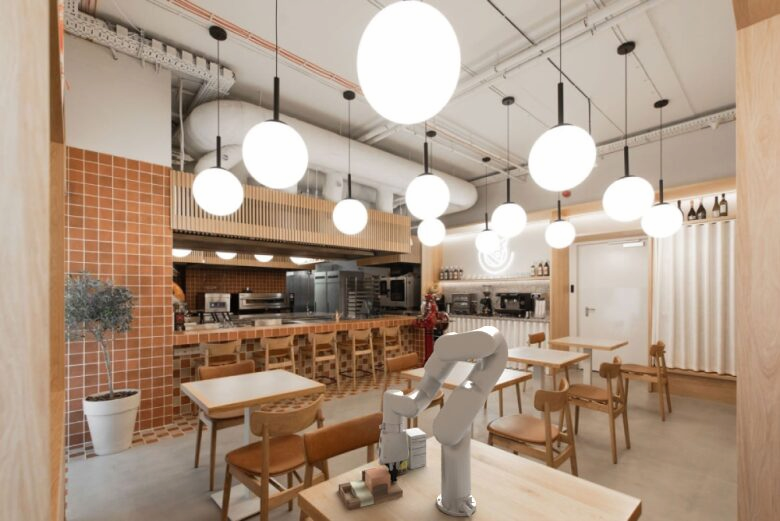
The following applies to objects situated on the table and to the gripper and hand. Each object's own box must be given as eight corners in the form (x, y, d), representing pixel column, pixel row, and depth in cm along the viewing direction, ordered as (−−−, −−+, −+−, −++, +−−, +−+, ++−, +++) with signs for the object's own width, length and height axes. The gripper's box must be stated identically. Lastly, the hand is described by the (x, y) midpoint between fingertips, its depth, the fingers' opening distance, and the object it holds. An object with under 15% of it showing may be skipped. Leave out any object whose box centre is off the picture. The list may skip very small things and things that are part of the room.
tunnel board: (402, 496, 123) (402, 481, 124) (348, 509, 116) (348, 493, 116) (388, 479, 134) (388, 465, 135) (338, 490, 127) (338, 475, 127)
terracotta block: (390, 488, 125) (390, 474, 125) (371, 492, 122) (371, 478, 122) (383, 479, 130) (383, 466, 131) (365, 483, 127) (365, 470, 128)
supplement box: (401, 461, 148) (401, 429, 149) (417, 458, 151) (417, 426, 152) (410, 470, 141) (410, 436, 142) (426, 466, 144) (426, 433, 145)
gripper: (377, 433, 124) (376, 489, 122) (416, 427, 129) (416, 481, 128) (370, 425, 131) (369, 478, 129) (407, 420, 136) (407, 471, 135)
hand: (393, 479), depth 129 cm, fingers closed
